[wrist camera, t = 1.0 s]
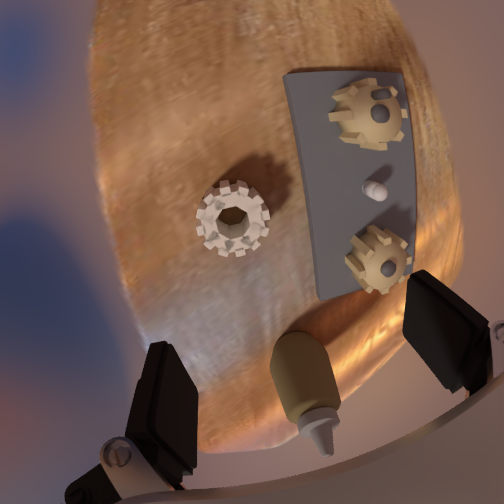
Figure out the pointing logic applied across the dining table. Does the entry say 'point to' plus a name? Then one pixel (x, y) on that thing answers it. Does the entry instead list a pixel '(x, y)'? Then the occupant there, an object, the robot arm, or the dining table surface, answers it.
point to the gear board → (355, 177)
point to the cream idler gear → (237, 234)
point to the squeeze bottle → (307, 387)
